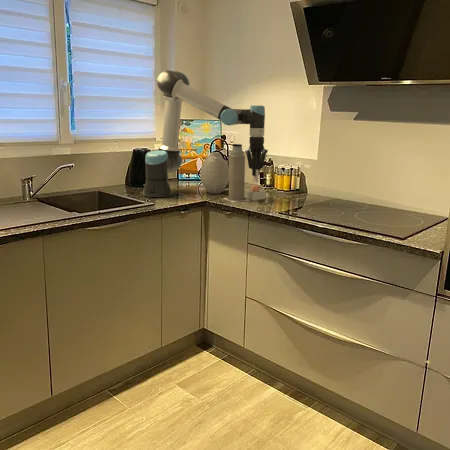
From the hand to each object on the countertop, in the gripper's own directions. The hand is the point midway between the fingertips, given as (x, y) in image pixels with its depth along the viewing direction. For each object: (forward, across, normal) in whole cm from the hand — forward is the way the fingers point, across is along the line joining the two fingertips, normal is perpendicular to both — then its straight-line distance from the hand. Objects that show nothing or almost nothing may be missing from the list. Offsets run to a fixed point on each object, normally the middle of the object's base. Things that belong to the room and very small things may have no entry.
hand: (255, 181), depth 245 cm
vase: (+9, -11, +24) cm, 28 cm away
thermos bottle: (+8, -11, +1) cm, 14 cm away
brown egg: (+6, 0, 0) cm, 6 cm away
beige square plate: (+9, -11, +1) cm, 14 cm away
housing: (+9, 0, 0) cm, 9 cm away
